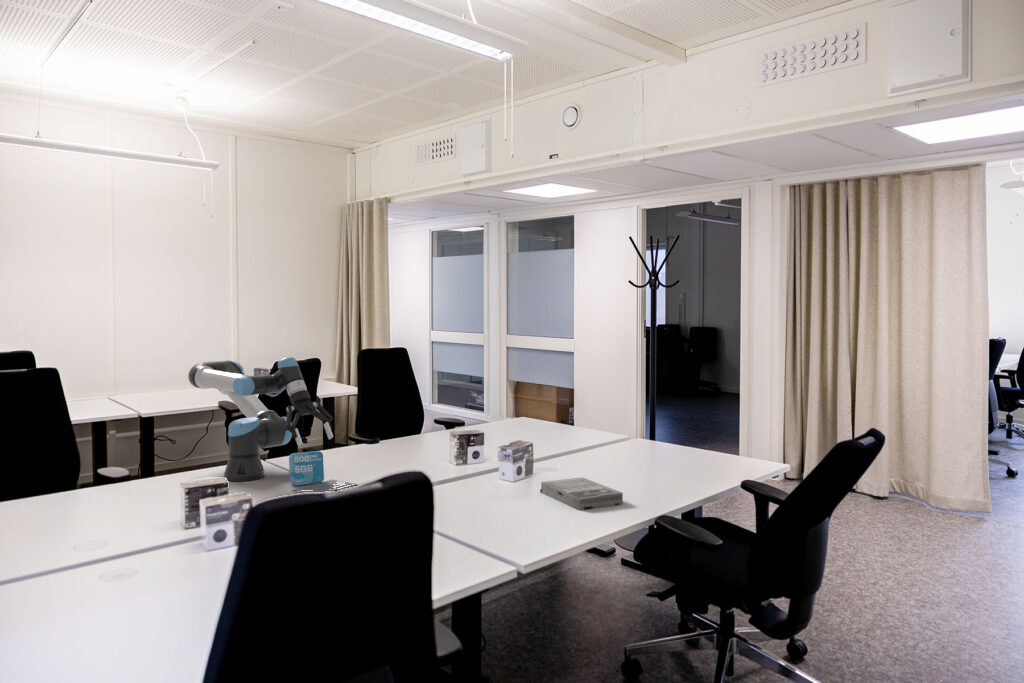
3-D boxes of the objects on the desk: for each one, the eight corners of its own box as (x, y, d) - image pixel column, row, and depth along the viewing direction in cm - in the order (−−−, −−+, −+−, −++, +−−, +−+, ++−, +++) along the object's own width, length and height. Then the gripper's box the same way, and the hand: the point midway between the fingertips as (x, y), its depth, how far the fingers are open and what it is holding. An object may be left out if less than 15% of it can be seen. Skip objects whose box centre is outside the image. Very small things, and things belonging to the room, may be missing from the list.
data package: (293, 486, 260) (291, 454, 261) (289, 485, 263) (288, 453, 264) (324, 482, 266) (323, 450, 267) (320, 481, 270) (319, 450, 271)
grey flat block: (581, 488, 264) (582, 477, 264) (623, 505, 240) (623, 493, 240) (540, 493, 256) (540, 481, 256) (578, 511, 232) (579, 498, 231)
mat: (291, 490, 255) (291, 489, 255) (332, 480, 272) (332, 479, 272) (317, 496, 247) (317, 495, 247) (357, 485, 264) (357, 484, 264)
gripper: (273, 394, 265) (291, 444, 259) (329, 384, 283) (347, 431, 277) (265, 402, 270) (283, 451, 264) (321, 392, 288) (339, 438, 282)
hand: (316, 441), depth 271 cm, fingers open, 13 cm apart
